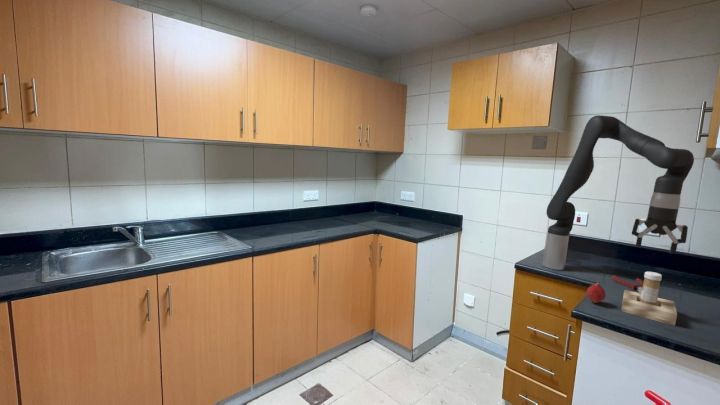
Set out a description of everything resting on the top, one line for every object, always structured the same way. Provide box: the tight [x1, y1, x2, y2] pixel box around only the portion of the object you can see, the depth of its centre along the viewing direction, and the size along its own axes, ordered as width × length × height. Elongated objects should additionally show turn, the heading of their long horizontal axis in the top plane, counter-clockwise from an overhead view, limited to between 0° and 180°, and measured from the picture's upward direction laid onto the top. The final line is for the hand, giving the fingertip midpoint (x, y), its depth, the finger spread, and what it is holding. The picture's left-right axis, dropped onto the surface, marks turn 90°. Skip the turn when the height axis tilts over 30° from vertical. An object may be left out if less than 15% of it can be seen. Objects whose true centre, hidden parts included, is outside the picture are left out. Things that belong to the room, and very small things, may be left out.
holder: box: [620, 289, 678, 327], centre depth 116 cm, size 14×14×4 cm
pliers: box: [611, 275, 644, 293], centre depth 138 cm, size 12×20×3 cm, turn 165°
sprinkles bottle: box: [640, 271, 663, 305], centre depth 115 cm, size 5×5×13 cm
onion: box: [585, 282, 607, 304], centre depth 121 cm, size 6×6×8 cm
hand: (654, 250), depth 115 cm, fingers open, 8 cm apart
